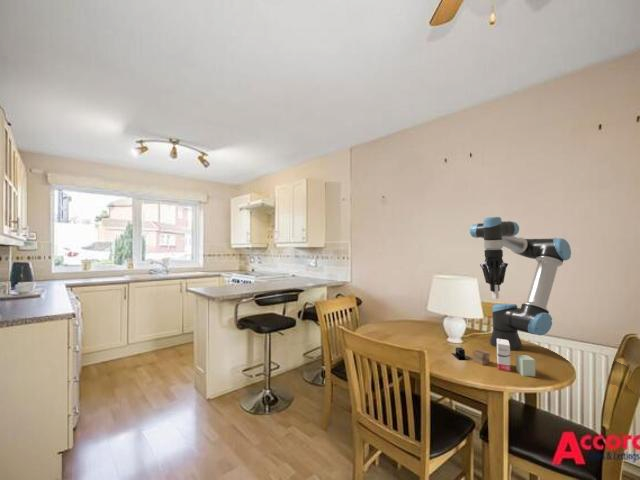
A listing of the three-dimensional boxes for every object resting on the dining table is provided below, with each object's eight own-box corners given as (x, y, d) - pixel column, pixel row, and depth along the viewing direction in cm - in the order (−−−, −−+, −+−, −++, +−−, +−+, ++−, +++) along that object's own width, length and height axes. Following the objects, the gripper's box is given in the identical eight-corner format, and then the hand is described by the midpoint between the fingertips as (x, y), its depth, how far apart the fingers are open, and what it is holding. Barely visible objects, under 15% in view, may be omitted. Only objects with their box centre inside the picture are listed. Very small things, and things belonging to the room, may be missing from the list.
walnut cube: (480, 359, 141) (480, 349, 141) (489, 363, 136) (489, 353, 136) (472, 361, 139) (472, 351, 139) (482, 365, 134) (481, 354, 135)
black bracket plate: (473, 362, 139) (473, 353, 139) (458, 362, 139) (457, 353, 139) (461, 353, 151) (461, 344, 151) (447, 353, 151) (447, 344, 151)
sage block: (528, 371, 127) (528, 355, 128) (535, 376, 122) (534, 360, 123) (516, 370, 128) (516, 355, 128) (522, 375, 123) (522, 359, 123)
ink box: (511, 371, 127) (510, 345, 127) (498, 369, 130) (497, 343, 130) (509, 364, 135) (508, 339, 135) (496, 362, 137) (496, 338, 137)
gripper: (500, 248, 142) (502, 296, 142) (475, 249, 141) (477, 297, 141) (511, 248, 135) (513, 298, 134) (485, 249, 134) (487, 300, 133)
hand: (495, 298), depth 138 cm, fingers closed
